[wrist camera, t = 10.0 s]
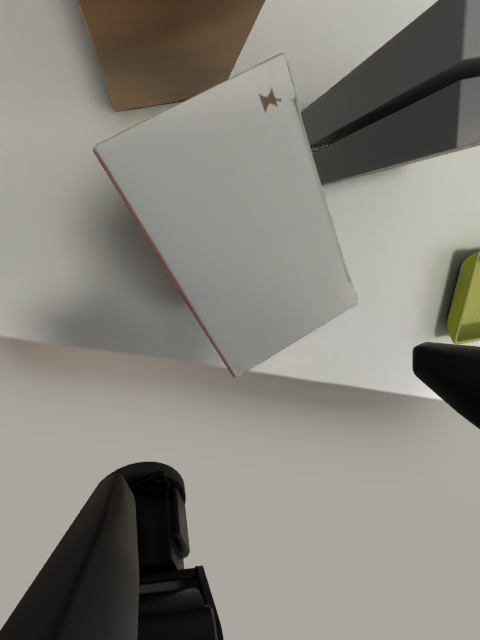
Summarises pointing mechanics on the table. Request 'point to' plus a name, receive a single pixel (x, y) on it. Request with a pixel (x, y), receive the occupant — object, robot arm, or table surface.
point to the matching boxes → (166, 46)
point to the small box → (236, 213)
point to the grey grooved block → (403, 98)
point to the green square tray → (466, 303)
